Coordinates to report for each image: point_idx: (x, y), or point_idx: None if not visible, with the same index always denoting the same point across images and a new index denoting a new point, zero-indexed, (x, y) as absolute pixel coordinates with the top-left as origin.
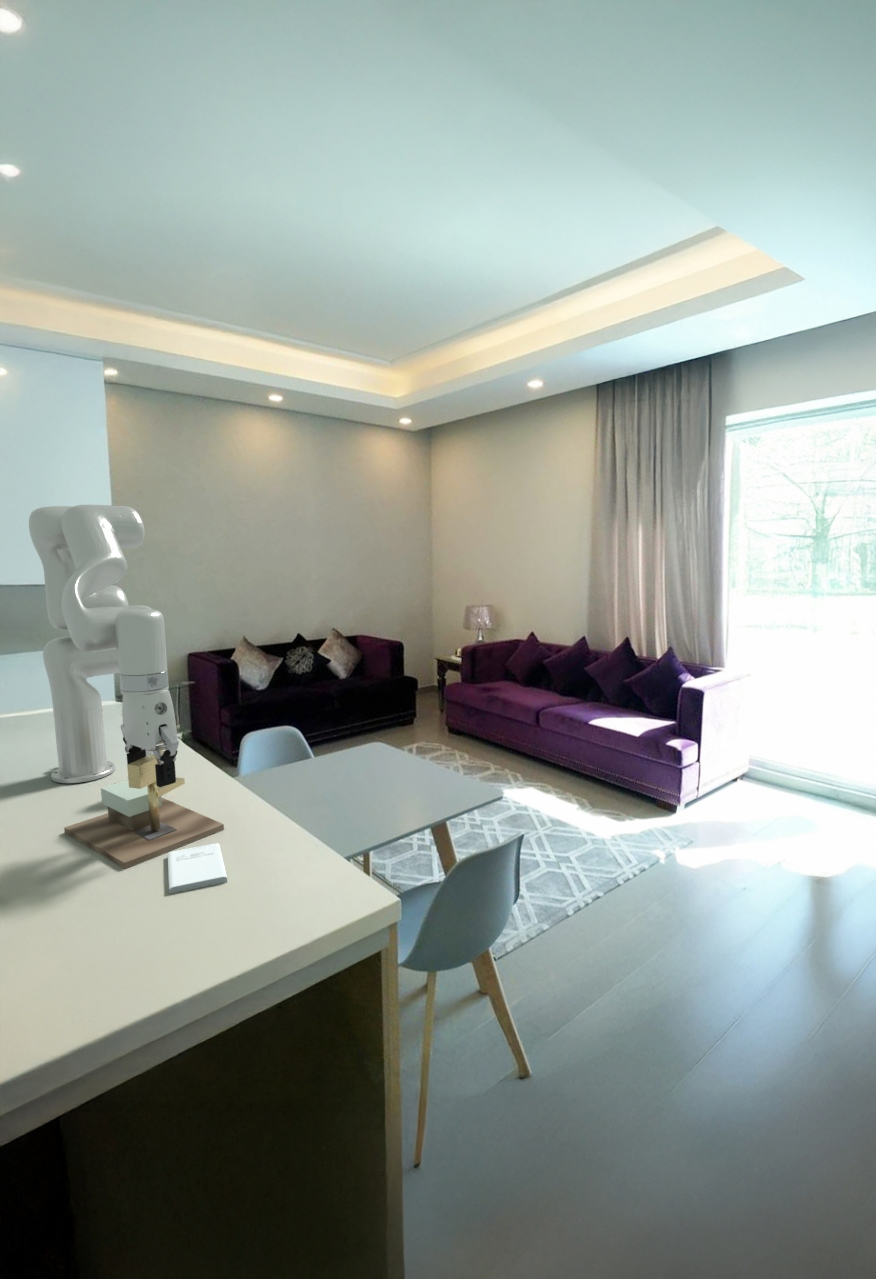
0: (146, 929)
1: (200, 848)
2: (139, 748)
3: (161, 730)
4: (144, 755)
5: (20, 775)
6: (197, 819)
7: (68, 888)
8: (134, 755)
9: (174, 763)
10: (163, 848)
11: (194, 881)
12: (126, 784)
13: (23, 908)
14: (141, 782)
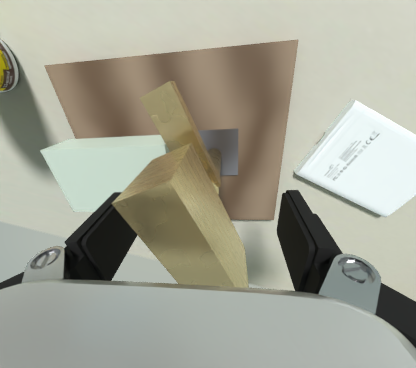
0: (408, 251)
1: (338, 136)
2: (79, 271)
3: None
4: (98, 231)
5: None
6: (224, 71)
7: (259, 255)
8: (106, 267)
9: (325, 235)
10: (279, 173)
11: (413, 195)
12: (77, 176)
13: (260, 280)
14: (245, 258)
